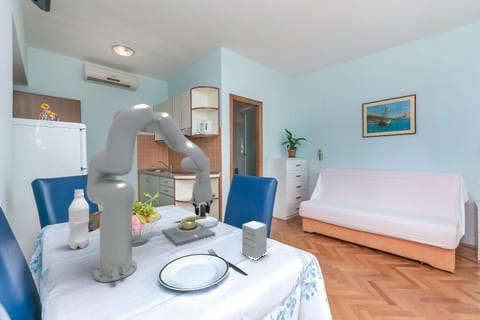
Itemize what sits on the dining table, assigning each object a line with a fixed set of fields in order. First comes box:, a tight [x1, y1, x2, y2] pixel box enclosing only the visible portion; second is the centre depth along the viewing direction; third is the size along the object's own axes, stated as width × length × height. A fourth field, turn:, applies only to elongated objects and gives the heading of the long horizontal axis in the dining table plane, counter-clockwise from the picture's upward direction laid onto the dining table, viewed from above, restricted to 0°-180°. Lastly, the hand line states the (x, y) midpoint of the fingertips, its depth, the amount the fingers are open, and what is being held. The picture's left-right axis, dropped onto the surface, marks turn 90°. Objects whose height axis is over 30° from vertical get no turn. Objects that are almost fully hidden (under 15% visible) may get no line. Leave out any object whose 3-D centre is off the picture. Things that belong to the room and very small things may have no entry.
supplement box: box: [241, 220, 268, 259], centre depth 83 cm, size 7×7×13 cm
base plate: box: [161, 222, 216, 247], centre depth 105 cm, size 20×20×4 cm
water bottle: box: [68, 188, 90, 250], centre depth 89 cm, size 7×7×25 cm
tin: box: [88, 210, 102, 231], centre depth 114 cm, size 15×3×8 cm, turn 179°
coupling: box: [178, 203, 207, 231], centre depth 106 cm, size 14×7×12 cm, turn 124°
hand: (202, 213), depth 110 cm, fingers open, 5 cm apart
